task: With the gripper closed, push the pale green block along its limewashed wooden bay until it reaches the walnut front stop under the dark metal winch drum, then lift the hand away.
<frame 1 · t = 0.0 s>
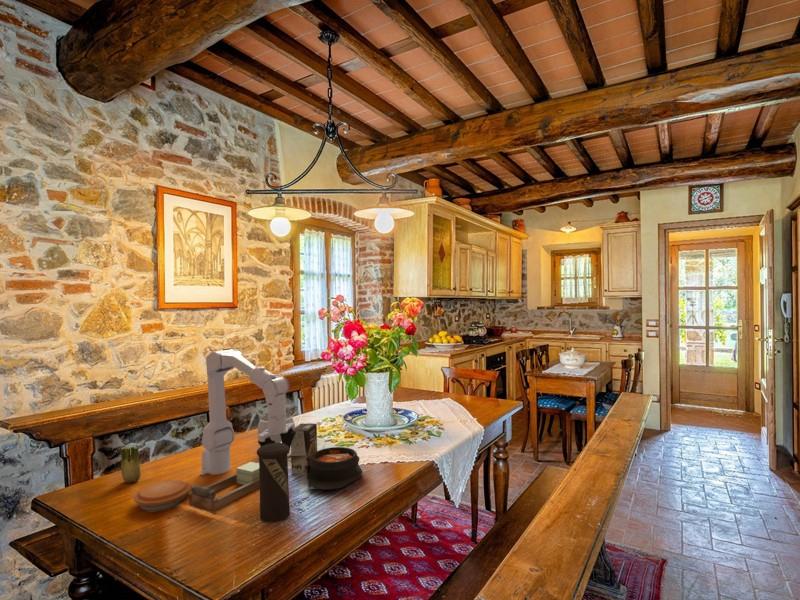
hand: (277, 457, 144), 10 cm above the table, tool pointing down, fingers open, 7 cm apart
casserole: (334, 479, 150), on the table
pale green block: (251, 474, 147), point 4 cm above the table, slide at 0.0 cm
bay: (234, 493, 141), on the table
chalice: (277, 455, 174), on the table
container: (275, 516, 126), on the table
pie: (163, 503, 136), on the table
fennel bulb: (131, 482, 152), on the table
coffee box: (305, 472, 157), on the table
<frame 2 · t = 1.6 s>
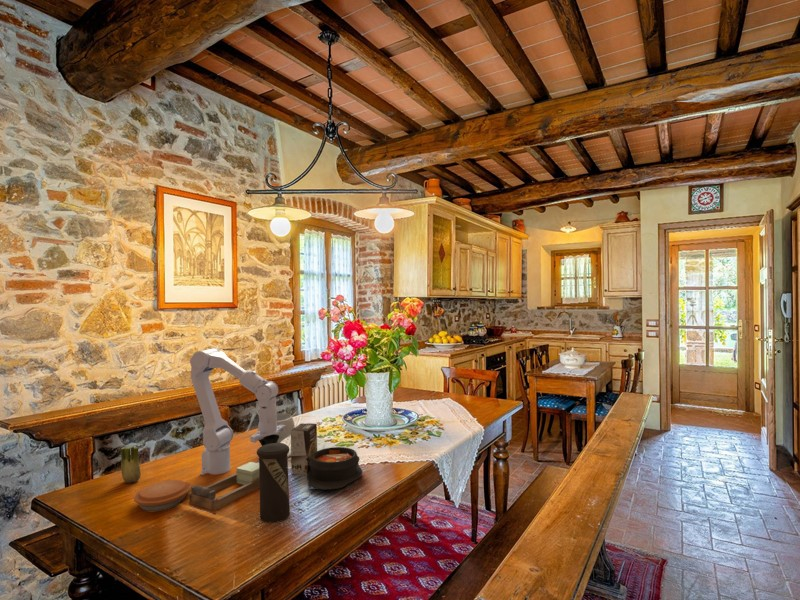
hand: (269, 456, 154), 7 cm above the table, tool pointing down, fingers closed
nothing on the table moved.
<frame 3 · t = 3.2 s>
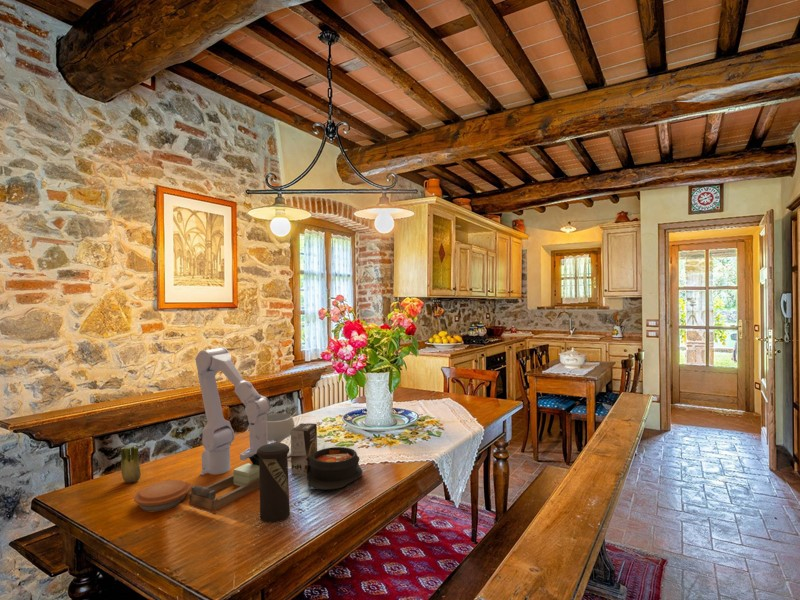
hand: (259, 474, 150), 2 cm above the table, tool pointing down, fingers closed
pale green block: (248, 475, 146), point 4 cm above the table, slide at 1.3 cm, touching gripper
everything else where it was.
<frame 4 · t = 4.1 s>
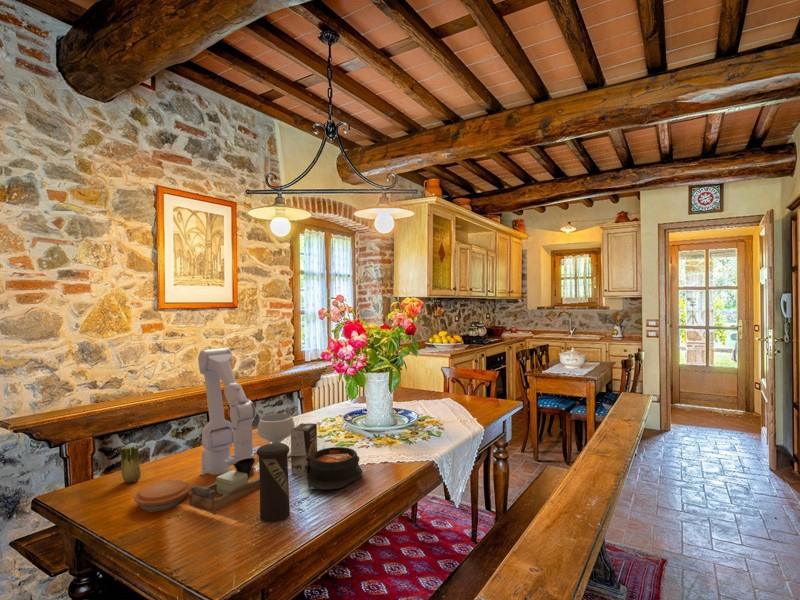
hand: (244, 481, 144), 2 cm above the table, tool pointing down, fingers closed
pale green block: (232, 483, 140), point 4 cm above the table, slide at 7.9 cm, touching gripper
everything else where it was.
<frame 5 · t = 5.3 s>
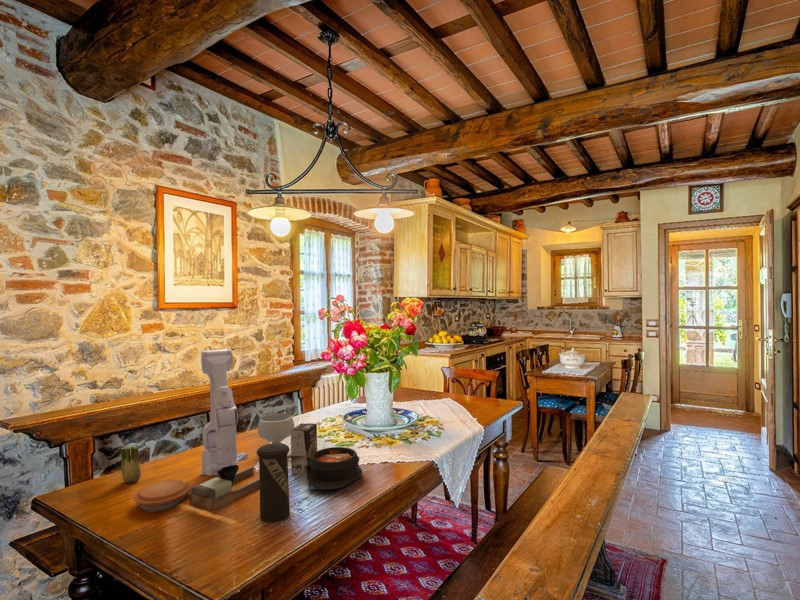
hand: (228, 489, 138), 2 cm above the table, tool pointing down, fingers closed
pale green block: (215, 491, 134), point 4 cm above the table, slide at 14.1 cm, touching bay, gripper
everything else where it was.
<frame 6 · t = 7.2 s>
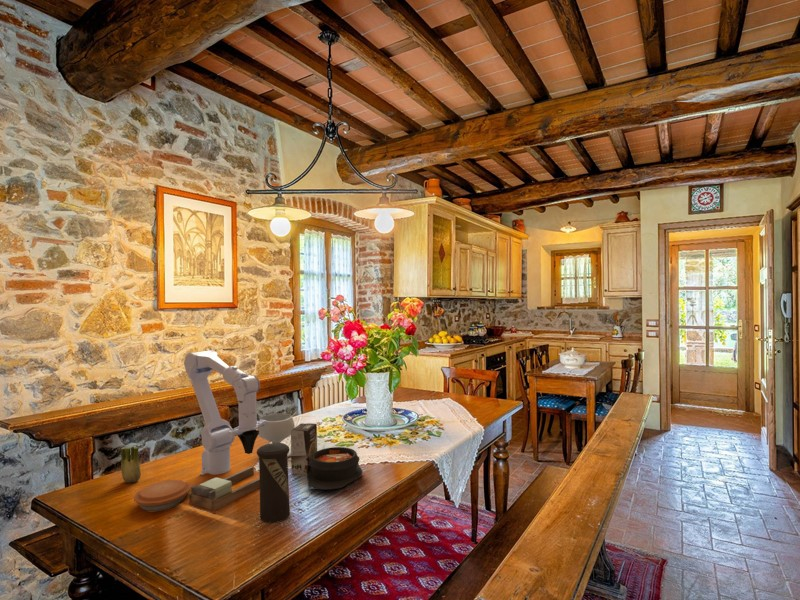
hand: (248, 452, 149), 10 cm above the table, tool pointing down, fingers closed
pale green block: (215, 491, 134), point 4 cm above the table, slide at 14.1 cm, touching bay
everything else where it was.
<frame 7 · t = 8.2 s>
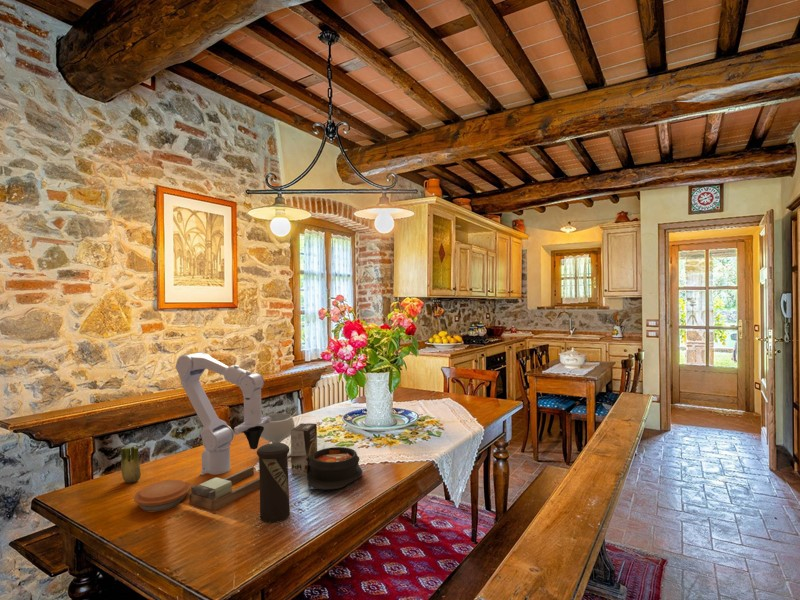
hand: (253, 448, 153), 10 cm above the table, tool pointing down, fingers closed
nothing on the table moved.
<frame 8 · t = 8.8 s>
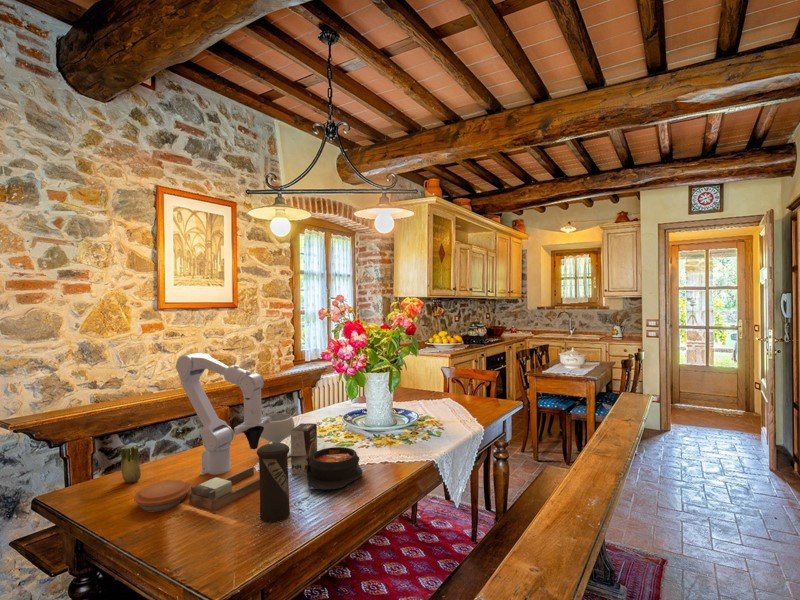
hand: (253, 448, 153), 10 cm above the table, tool pointing down, fingers closed
nothing on the table moved.
at the end: pale green block slide at 14.1 cm; the gripper is holding nothing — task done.
